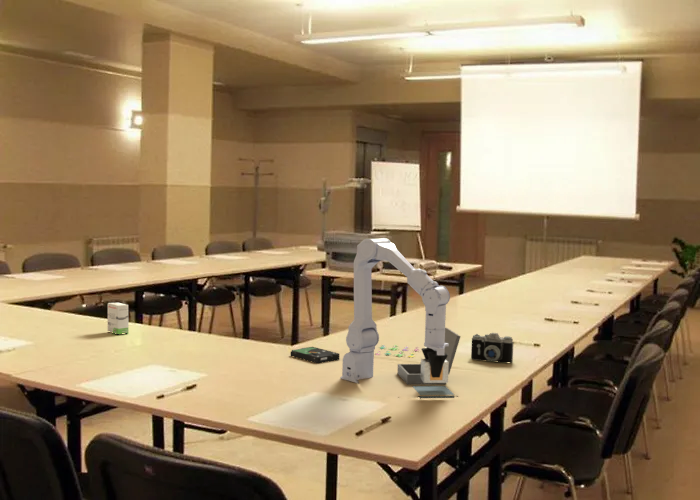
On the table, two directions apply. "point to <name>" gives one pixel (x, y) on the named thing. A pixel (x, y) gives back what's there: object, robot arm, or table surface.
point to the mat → (433, 391)
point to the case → (413, 371)
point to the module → (427, 375)
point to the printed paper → (399, 352)
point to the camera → (492, 348)
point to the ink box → (118, 318)
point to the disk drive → (315, 354)
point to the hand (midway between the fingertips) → (433, 375)
